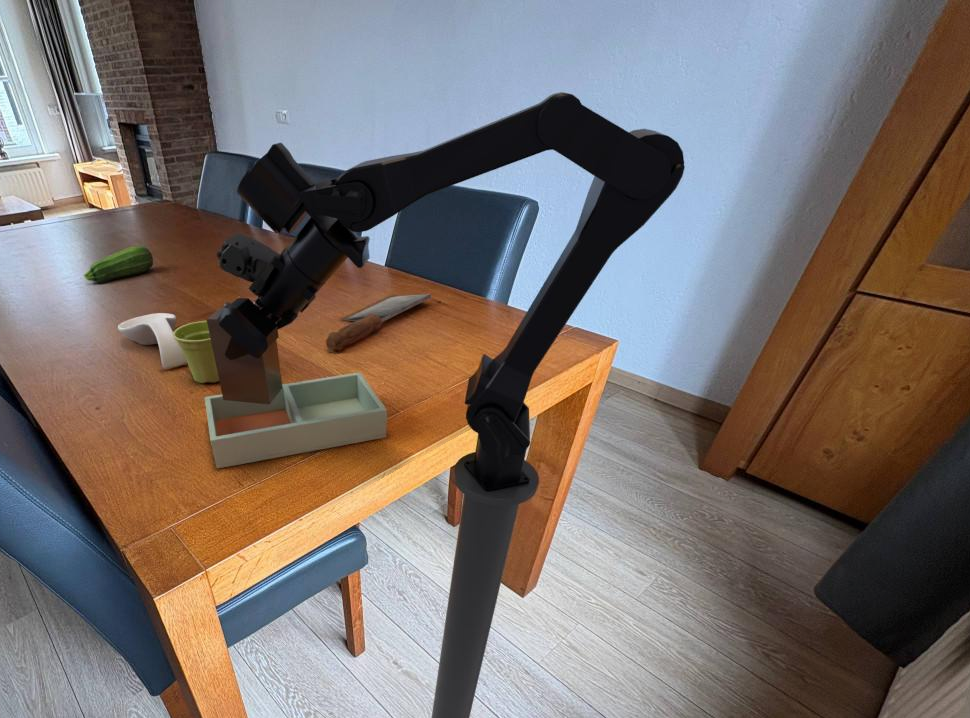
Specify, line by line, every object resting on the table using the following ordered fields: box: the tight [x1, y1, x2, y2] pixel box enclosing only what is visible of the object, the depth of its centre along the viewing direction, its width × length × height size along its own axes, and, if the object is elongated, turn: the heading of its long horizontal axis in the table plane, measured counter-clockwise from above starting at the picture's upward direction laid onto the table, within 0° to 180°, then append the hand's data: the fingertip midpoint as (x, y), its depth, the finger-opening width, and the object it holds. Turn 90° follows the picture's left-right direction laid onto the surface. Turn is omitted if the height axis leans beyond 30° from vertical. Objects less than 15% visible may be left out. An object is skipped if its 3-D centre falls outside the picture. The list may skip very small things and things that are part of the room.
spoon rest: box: [117, 312, 188, 370], centre depth 101 cm, size 24×12×7 cm, turn 32°
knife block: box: [205, 301, 283, 404], centre depth 68 cm, size 5×7×13 cm
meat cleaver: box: [325, 293, 432, 352], centre depth 109 cm, size 34×11×4 cm, turn 140°
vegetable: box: [83, 245, 154, 284], centre depth 144 cm, size 7×7×20 cm
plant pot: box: [173, 320, 219, 384], centre depth 89 cm, size 9×9×9 cm
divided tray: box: [204, 371, 388, 469], centre depth 75 cm, size 13×24×5 cm, turn 105°
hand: (236, 349), depth 68 cm, fingers closed on knife block, 5 cm apart
